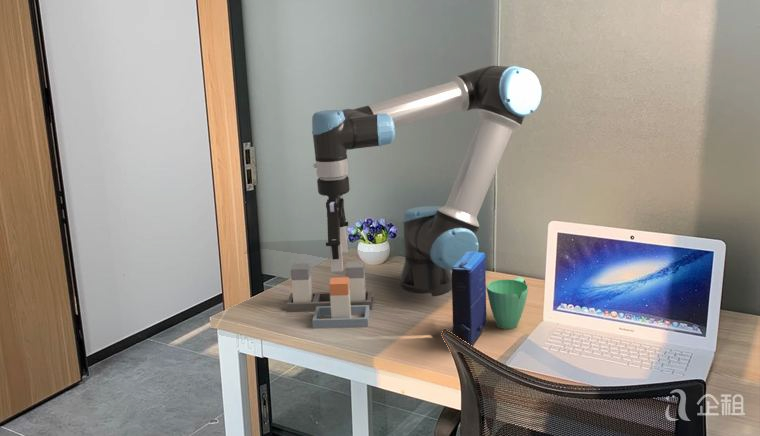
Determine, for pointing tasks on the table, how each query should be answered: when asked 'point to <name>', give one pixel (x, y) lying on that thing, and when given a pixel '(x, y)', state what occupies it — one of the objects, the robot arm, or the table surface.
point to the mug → (507, 301)
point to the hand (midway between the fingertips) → (339, 261)
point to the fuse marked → (340, 297)
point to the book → (469, 296)
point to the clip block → (321, 302)
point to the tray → (341, 321)
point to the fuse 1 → (301, 282)
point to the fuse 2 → (356, 280)
